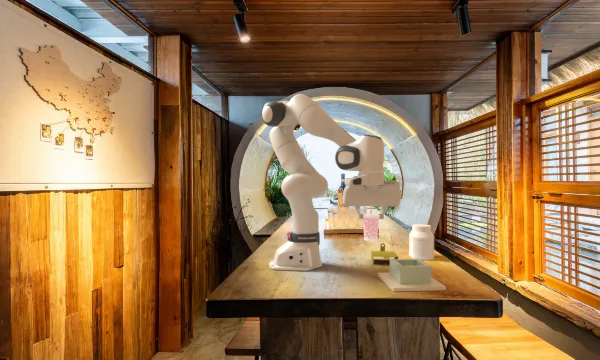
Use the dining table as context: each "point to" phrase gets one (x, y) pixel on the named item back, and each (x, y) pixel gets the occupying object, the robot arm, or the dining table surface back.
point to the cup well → (410, 276)
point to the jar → (421, 242)
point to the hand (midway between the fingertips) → (370, 218)
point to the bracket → (383, 253)
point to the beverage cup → (370, 226)
